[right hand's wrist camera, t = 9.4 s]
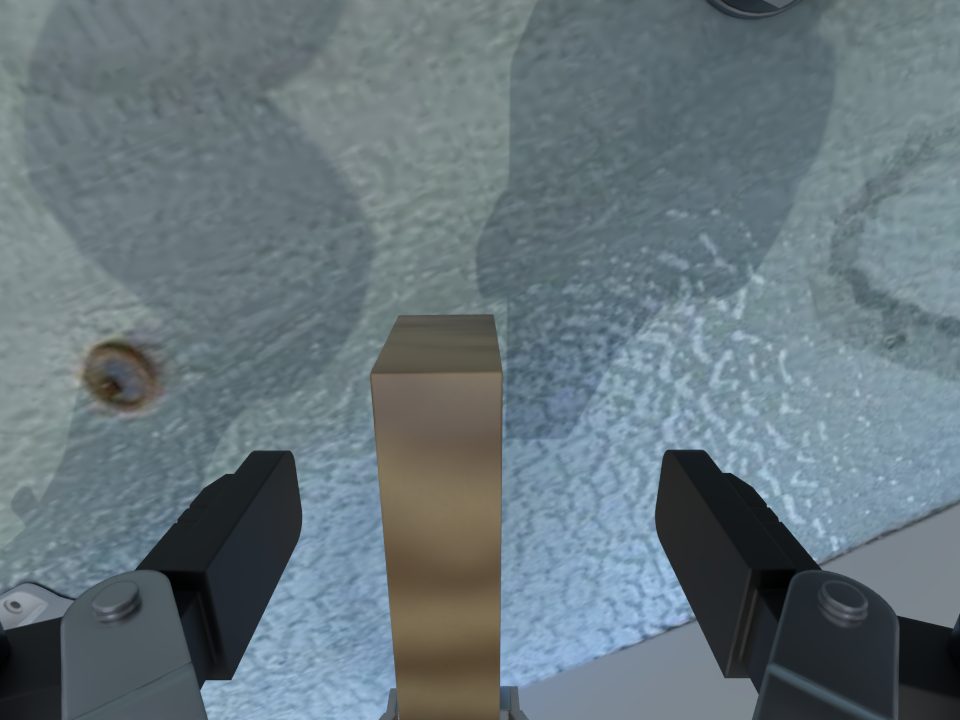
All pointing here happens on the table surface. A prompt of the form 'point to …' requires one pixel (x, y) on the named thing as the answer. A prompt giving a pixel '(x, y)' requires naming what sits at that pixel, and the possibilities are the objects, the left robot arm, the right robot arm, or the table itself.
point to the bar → (442, 511)
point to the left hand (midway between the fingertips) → (455, 693)
